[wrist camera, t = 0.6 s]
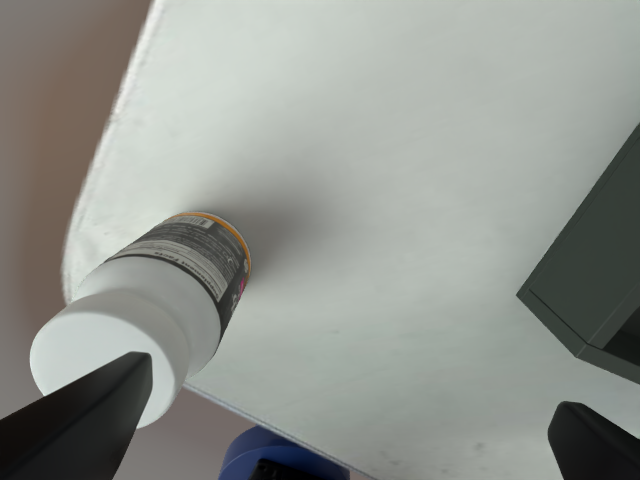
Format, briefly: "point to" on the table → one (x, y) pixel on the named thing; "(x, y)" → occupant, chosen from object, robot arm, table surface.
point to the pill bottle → (150, 308)
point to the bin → (597, 272)
